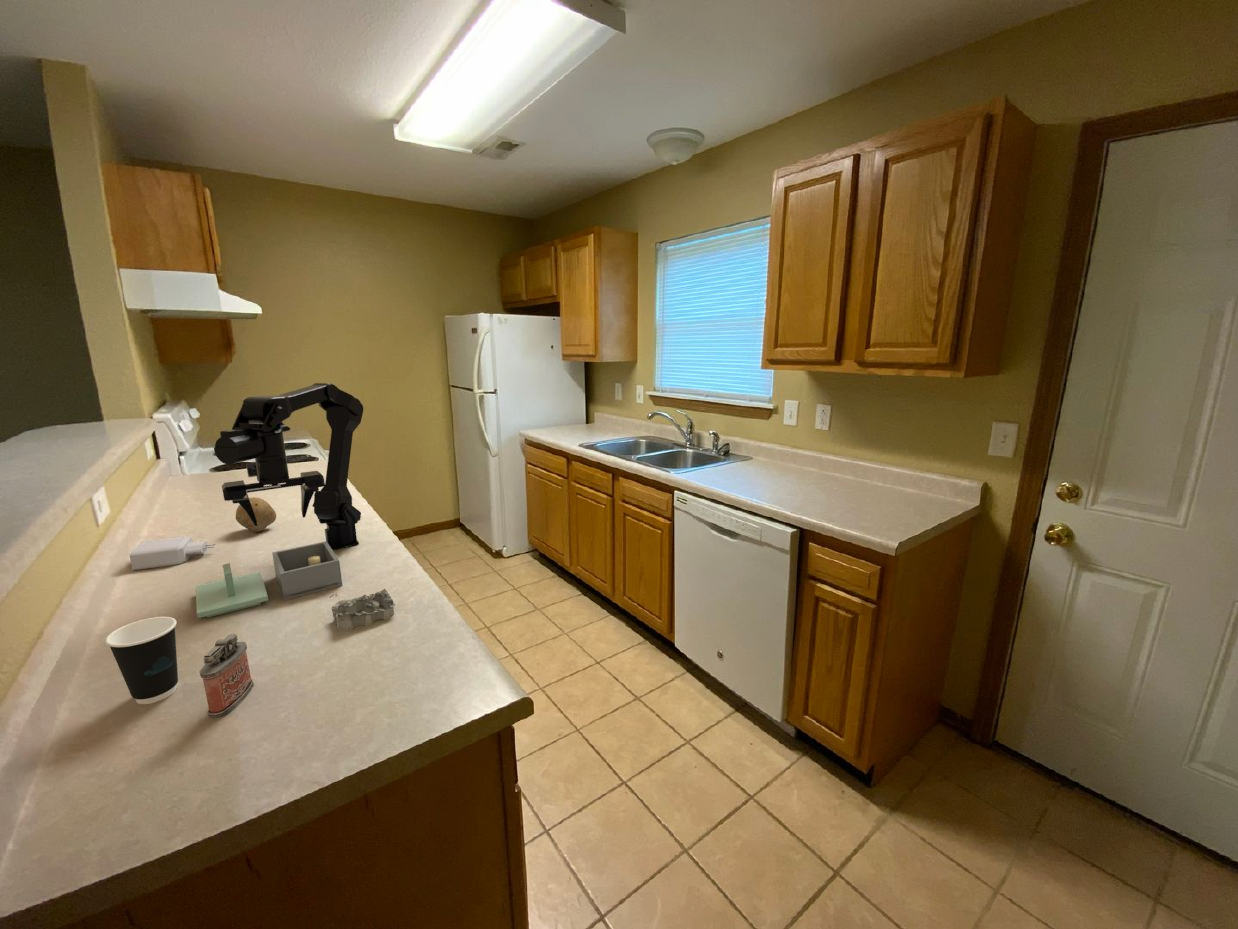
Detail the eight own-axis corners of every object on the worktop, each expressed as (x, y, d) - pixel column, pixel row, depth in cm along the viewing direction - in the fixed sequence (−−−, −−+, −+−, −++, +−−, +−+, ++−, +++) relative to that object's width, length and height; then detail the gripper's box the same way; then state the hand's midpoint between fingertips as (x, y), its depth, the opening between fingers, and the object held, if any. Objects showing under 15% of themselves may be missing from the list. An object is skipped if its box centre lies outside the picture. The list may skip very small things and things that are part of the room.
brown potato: (230, 534, 144) (224, 499, 142) (262, 523, 152) (256, 491, 150) (251, 538, 141) (246, 504, 139) (283, 528, 149) (278, 495, 147)
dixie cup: (171, 707, 77) (156, 641, 74) (107, 715, 75) (90, 648, 73) (200, 674, 85) (187, 613, 82) (143, 681, 83) (128, 619, 80)
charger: (211, 561, 127) (132, 572, 121) (221, 547, 135) (147, 557, 129) (208, 543, 126) (128, 553, 120) (217, 530, 134) (143, 539, 128)
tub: (329, 564, 126) (326, 541, 124) (342, 585, 115) (339, 560, 114) (275, 576, 119) (272, 552, 118) (284, 600, 109) (280, 574, 107)
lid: (261, 579, 118) (256, 551, 116) (269, 604, 107) (263, 573, 105) (197, 594, 111) (191, 564, 109) (198, 623, 100) (191, 589, 98)
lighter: (237, 683, 82) (226, 627, 80) (259, 682, 83) (249, 626, 80) (202, 719, 75) (189, 658, 72) (226, 718, 75) (214, 657, 73)
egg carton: (337, 636, 96) (334, 616, 95) (331, 618, 102) (328, 599, 101) (397, 618, 102) (395, 600, 101) (388, 603, 108) (387, 585, 107)
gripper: (312, 443, 126) (320, 504, 129) (215, 453, 114) (227, 520, 118) (320, 451, 117) (329, 516, 121) (217, 462, 106) (230, 534, 109)
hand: (280, 521), depth 118 cm, fingers open, 9 cm apart
